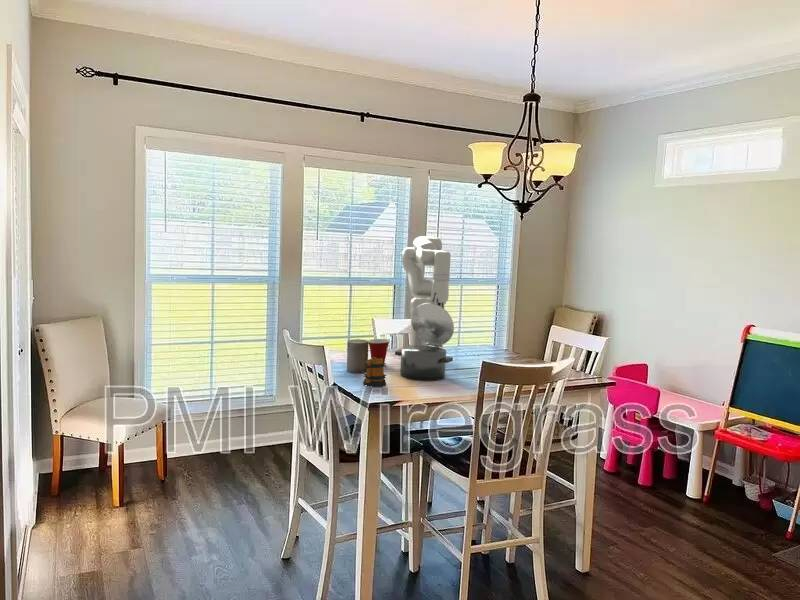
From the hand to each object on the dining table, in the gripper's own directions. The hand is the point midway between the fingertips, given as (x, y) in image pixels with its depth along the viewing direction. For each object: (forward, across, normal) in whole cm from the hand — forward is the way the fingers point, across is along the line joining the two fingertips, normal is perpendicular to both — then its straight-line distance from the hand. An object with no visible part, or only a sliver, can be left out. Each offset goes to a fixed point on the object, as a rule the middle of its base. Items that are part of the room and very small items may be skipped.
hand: (439, 317), depth 290 cm
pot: (+25, +14, 0) cm, 29 cm away
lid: (+3, +7, 0) cm, 8 cm away
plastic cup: (+25, +6, -28) cm, 39 cm away
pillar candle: (+26, +24, -28) cm, 45 cm away
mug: (+26, +42, -9) cm, 50 cm away
